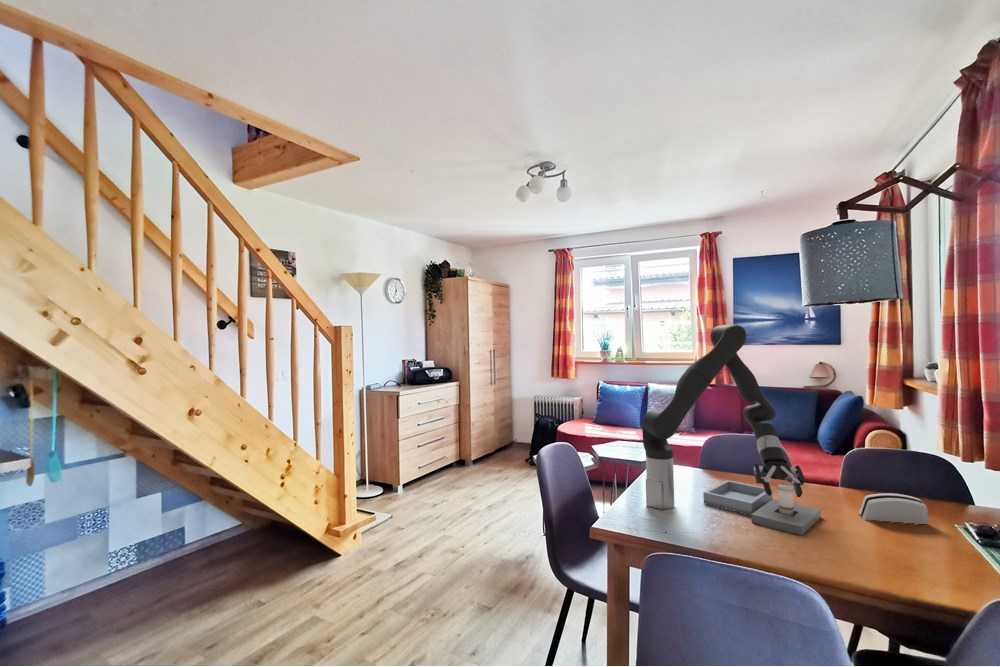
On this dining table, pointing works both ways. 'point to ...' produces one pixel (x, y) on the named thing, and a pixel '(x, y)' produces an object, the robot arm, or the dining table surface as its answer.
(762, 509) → the block
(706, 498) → the parts tray
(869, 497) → the grey grooved half-disc
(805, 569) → the dining table surface
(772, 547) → the dining table surface
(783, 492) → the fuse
